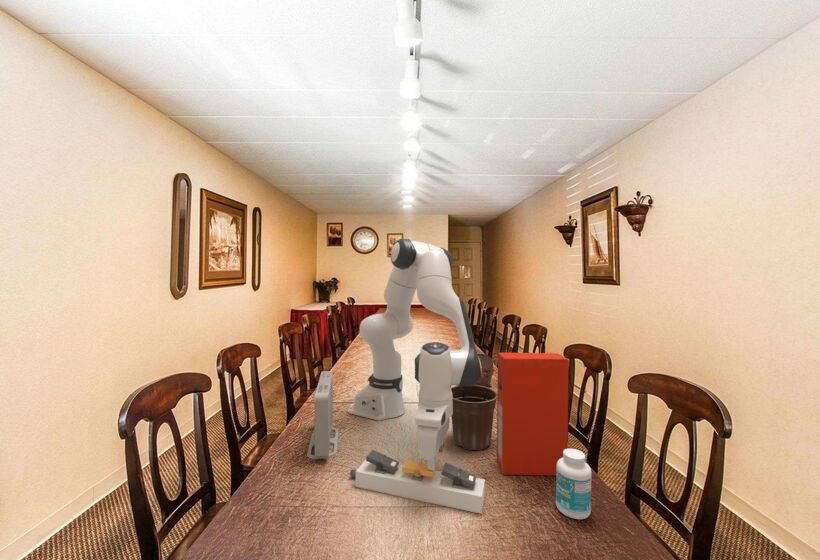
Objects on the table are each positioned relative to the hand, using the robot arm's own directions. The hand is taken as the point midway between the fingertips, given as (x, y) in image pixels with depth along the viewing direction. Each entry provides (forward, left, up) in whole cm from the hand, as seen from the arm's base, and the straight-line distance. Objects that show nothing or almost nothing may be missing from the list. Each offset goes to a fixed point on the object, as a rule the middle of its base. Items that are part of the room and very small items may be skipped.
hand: (435, 460), depth 91 cm
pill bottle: (+33, +1, -7) cm, 33 cm away
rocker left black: (-13, -4, -1) cm, 14 cm away
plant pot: (+6, +26, -7) cm, 28 cm away
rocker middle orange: (-3, -4, -1) cm, 5 cm away
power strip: (-5, -4, -7) cm, 9 cm away
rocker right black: (+7, -4, -1) cm, 8 cm away
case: (+1, +66, -7) cm, 67 cm away
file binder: (+24, +16, -7) cm, 30 cm away
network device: (-39, +10, -7) cm, 41 cm away
